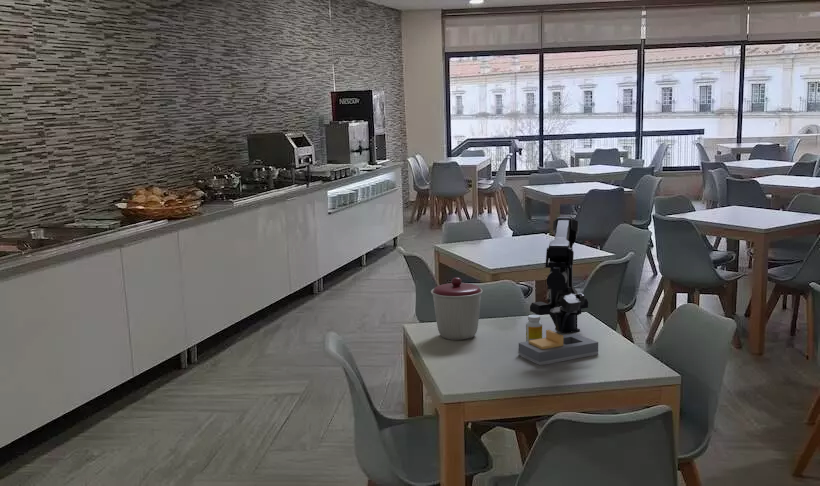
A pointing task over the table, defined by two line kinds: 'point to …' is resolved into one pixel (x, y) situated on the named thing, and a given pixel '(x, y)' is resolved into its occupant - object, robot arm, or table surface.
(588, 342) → the socket block
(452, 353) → the table surface
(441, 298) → the canister
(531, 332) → the supplement bottle
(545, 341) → the shutter
